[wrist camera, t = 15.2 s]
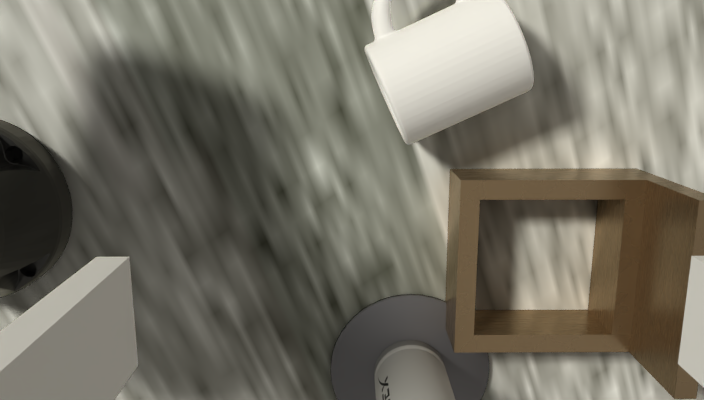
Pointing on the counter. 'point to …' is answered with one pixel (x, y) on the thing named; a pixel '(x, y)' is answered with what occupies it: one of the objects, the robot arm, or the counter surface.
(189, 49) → the counter surface
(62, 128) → the counter surface
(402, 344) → the travel mug
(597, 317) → the brown wooden open box
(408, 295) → the mat
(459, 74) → the mug
